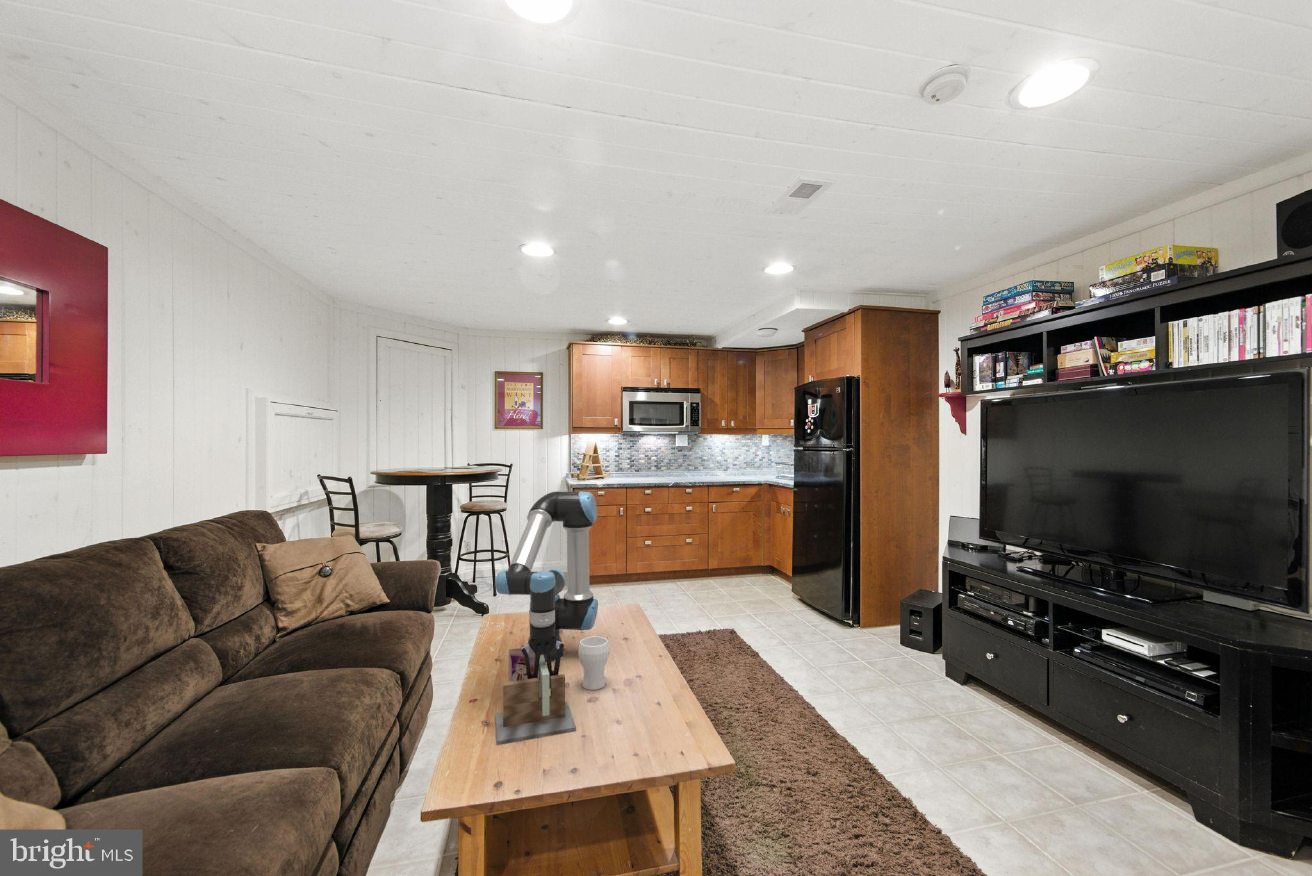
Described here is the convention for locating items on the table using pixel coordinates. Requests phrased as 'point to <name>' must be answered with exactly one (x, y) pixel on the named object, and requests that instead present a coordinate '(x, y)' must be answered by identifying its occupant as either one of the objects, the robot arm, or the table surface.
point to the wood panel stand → (532, 711)
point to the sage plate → (544, 685)
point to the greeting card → (519, 664)
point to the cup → (593, 661)
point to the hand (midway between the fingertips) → (542, 699)
